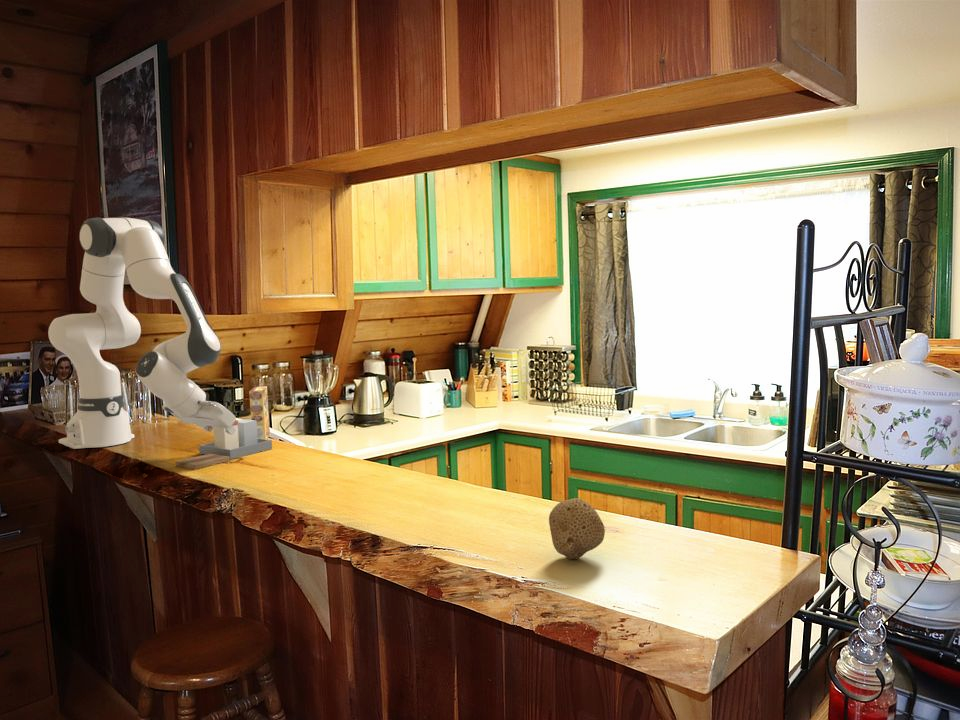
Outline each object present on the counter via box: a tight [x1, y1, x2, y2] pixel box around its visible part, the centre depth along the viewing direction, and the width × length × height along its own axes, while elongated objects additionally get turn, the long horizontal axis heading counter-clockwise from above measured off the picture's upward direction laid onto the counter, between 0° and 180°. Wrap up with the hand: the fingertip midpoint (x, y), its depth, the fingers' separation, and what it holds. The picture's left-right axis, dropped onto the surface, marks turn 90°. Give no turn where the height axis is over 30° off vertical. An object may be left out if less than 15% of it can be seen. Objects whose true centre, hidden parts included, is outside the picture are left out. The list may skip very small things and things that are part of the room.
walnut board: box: [175, 453, 231, 470], centre depth 201 cm, size 8×10×1 cm
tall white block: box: [238, 419, 258, 447], centre depth 217 cm, size 4×4×8 cm
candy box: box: [248, 386, 271, 440], centre depth 231 cm, size 9×4×15 cm, turn 8°
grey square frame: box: [198, 438, 273, 460], centre depth 214 cm, size 13×14×2 cm
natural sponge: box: [548, 497, 606, 560], centre depth 126 cm, size 9×9×10 cm
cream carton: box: [213, 420, 239, 449], centre depth 212 cm, size 5×5×9 cm
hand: (221, 430), depth 210 cm, fingers open, 8 cm apart
